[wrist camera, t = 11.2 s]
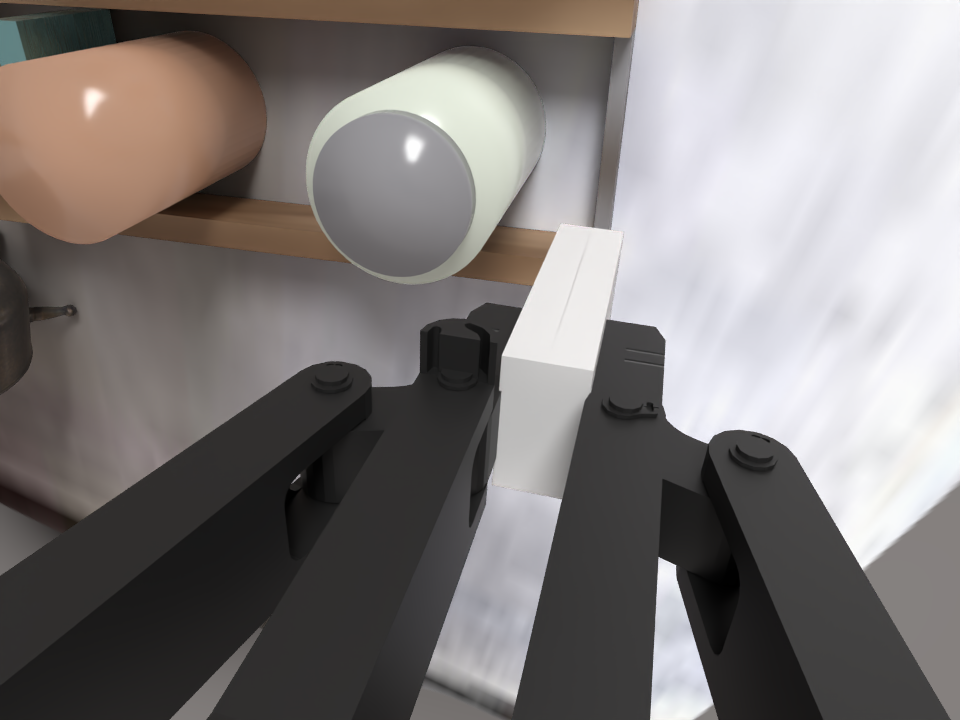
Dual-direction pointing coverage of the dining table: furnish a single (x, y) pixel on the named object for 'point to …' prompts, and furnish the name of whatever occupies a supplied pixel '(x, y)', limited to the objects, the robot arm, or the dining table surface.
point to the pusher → (54, 33)
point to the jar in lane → (124, 131)
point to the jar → (425, 163)
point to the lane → (432, 3)
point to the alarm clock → (18, 326)
